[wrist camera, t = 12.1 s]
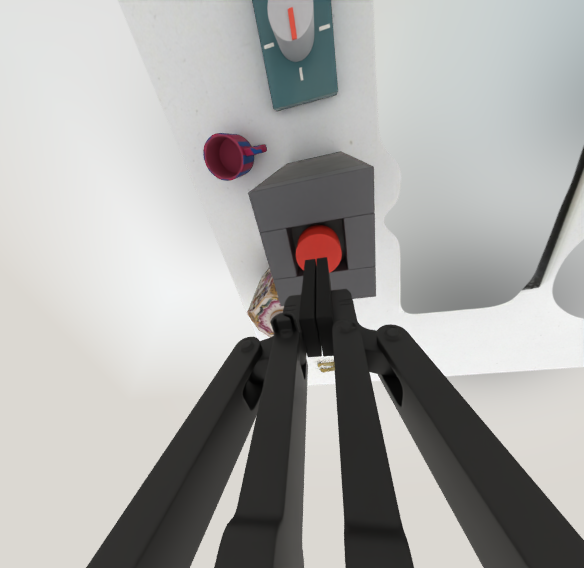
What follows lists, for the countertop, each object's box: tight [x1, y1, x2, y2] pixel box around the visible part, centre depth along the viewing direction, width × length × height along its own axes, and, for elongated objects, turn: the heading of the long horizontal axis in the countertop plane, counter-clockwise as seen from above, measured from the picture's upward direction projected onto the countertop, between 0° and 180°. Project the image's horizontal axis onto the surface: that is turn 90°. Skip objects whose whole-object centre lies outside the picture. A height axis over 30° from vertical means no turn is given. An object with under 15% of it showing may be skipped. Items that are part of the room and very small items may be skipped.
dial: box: [267, 0, 314, 62], centre depth 28 cm, size 5×5×8 cm
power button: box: [296, 225, 342, 273], centre depth 21 cm, size 4×4×2 cm
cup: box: [204, 133, 267, 181], centre depth 39 cm, size 7×10×7 cm
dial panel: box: [252, 0, 338, 111], centre depth 32 cm, size 14×10×3 cm
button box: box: [248, 152, 376, 306], centre depth 33 cm, size 12×10×28 cm
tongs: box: [318, 362, 335, 372], centre depth 69 cm, size 4×13×2 cm, turn 117°
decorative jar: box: [248, 268, 284, 337], centre depth 48 cm, size 12×12×18 cm
